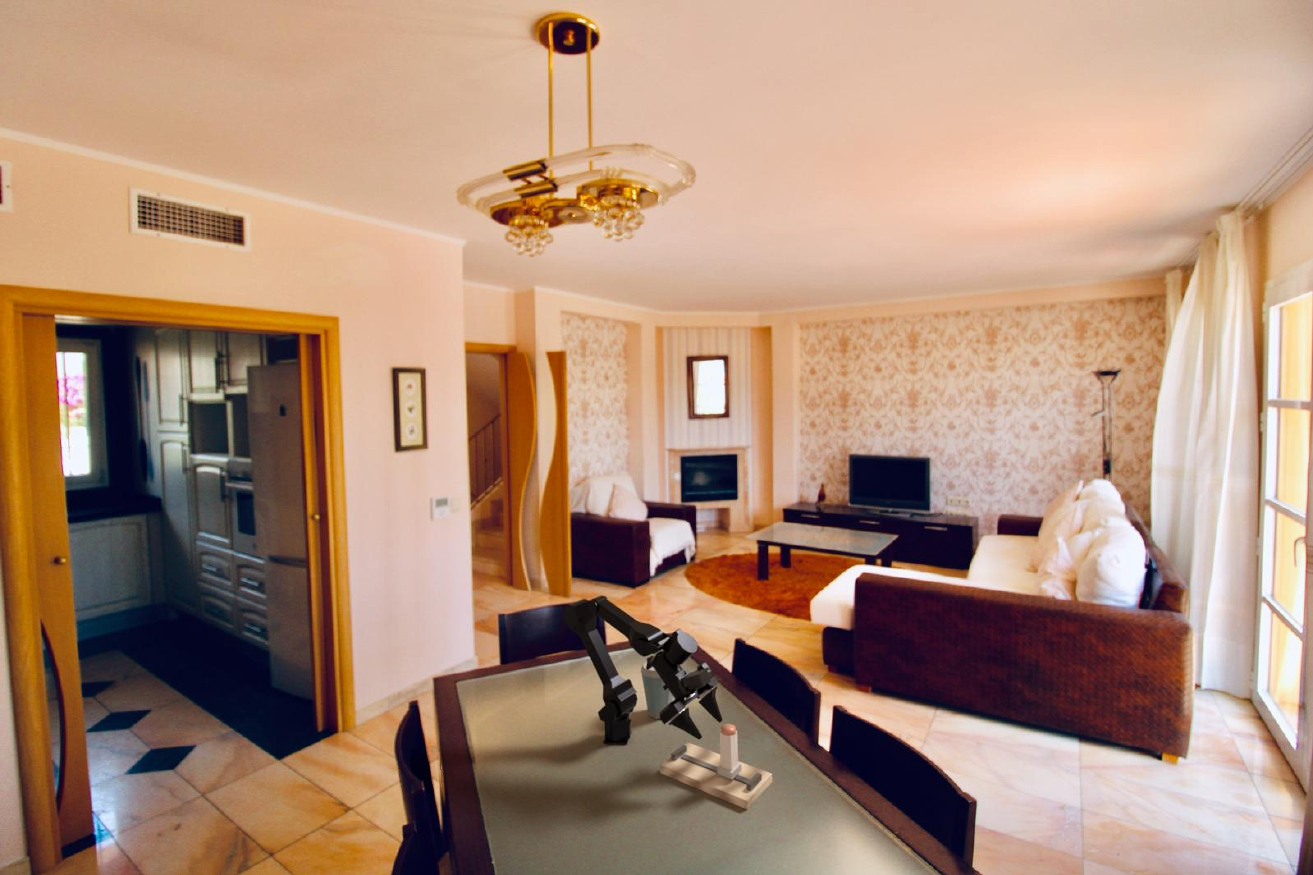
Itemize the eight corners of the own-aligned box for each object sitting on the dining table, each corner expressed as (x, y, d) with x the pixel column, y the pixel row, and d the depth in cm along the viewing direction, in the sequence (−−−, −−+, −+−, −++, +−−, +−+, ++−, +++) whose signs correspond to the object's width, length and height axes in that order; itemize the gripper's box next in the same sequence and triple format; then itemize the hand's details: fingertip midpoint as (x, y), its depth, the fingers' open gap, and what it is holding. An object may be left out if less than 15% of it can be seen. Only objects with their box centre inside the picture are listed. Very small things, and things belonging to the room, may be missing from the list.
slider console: (660, 773, 151) (659, 759, 151) (687, 749, 160) (687, 737, 160) (747, 809, 136) (747, 794, 136) (772, 782, 146) (771, 768, 146)
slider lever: (717, 773, 145) (716, 729, 145) (726, 764, 149) (725, 721, 148) (732, 779, 143) (731, 734, 142) (741, 770, 146) (740, 726, 146)
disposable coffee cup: (636, 719, 177) (634, 668, 176) (650, 701, 187) (648, 653, 186) (670, 725, 173) (669, 673, 172) (683, 707, 183) (682, 657, 182)
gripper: (667, 670, 143) (709, 731, 137) (710, 643, 158) (750, 697, 152) (642, 695, 148) (681, 754, 142) (686, 667, 163) (723, 719, 157)
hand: (711, 729), depth 148 cm, fingers open, 9 cm apart
